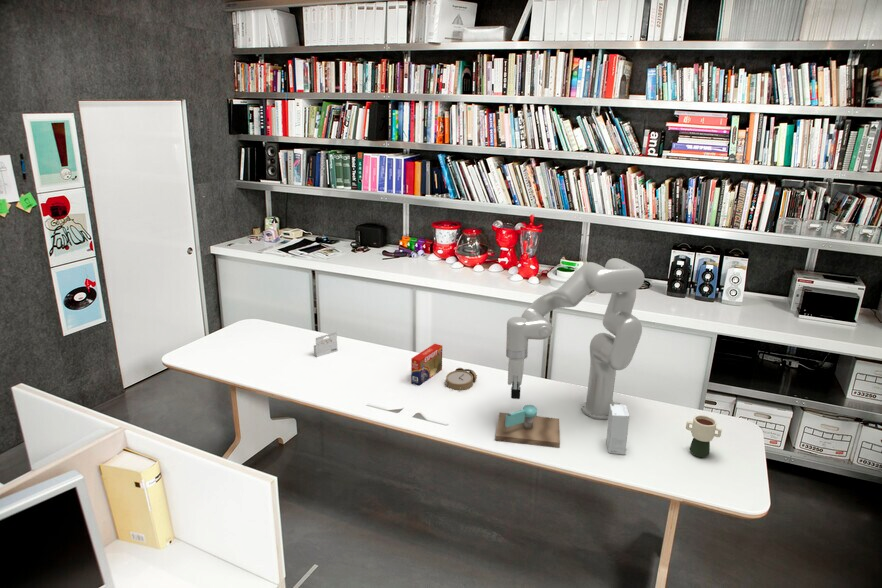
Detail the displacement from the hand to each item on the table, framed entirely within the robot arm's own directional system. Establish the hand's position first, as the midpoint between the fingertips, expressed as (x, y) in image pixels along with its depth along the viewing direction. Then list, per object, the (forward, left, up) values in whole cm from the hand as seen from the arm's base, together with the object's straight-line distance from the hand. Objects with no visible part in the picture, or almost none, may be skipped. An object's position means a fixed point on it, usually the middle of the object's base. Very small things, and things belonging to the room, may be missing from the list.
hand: (515, 397), depth 214 cm
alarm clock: (+23, -28, -11) cm, 38 cm away
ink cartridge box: (+89, -44, -11) cm, 99 cm away
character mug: (-63, +6, -11) cm, 65 cm away
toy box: (+39, -31, -11) cm, 51 cm away
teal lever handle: (-2, +7, -6) cm, 9 cm away
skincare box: (-35, +8, -11) cm, 38 cm away
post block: (-5, +4, -11) cm, 13 cm away
